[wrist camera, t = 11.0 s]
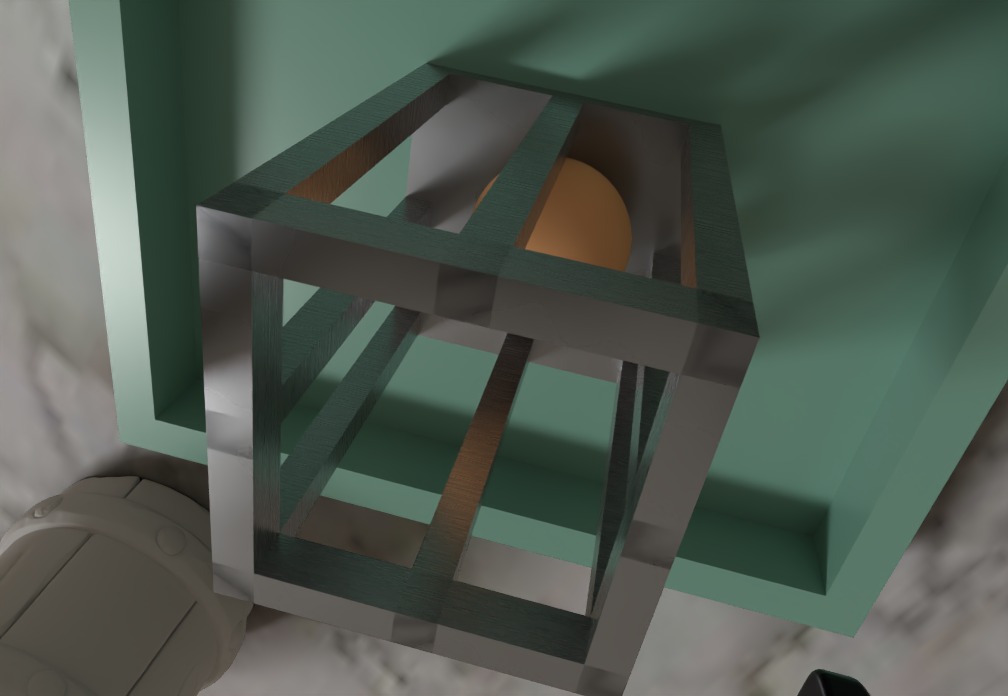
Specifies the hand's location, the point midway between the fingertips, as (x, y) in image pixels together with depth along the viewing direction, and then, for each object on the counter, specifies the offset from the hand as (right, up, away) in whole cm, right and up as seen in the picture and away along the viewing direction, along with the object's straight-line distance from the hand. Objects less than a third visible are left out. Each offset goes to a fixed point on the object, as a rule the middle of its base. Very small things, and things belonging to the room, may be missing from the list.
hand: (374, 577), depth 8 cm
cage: (+2, +5, +8) cm, 10 cm away
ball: (+2, +4, +6) cm, 8 cm away
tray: (+2, +5, +9) cm, 11 cm away
